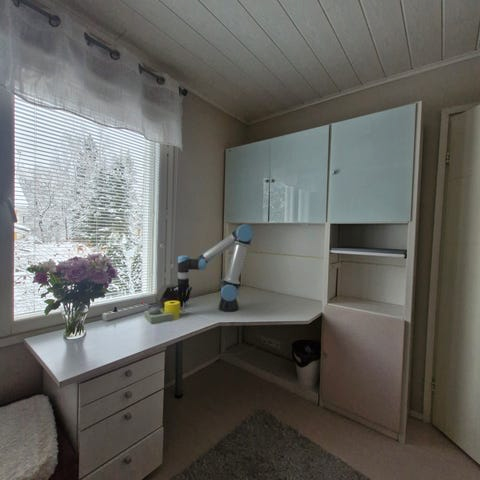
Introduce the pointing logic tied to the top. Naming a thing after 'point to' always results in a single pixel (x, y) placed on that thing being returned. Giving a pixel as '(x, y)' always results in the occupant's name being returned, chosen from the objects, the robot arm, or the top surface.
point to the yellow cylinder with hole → (173, 308)
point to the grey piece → (158, 315)
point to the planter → (166, 295)
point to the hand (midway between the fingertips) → (183, 311)
